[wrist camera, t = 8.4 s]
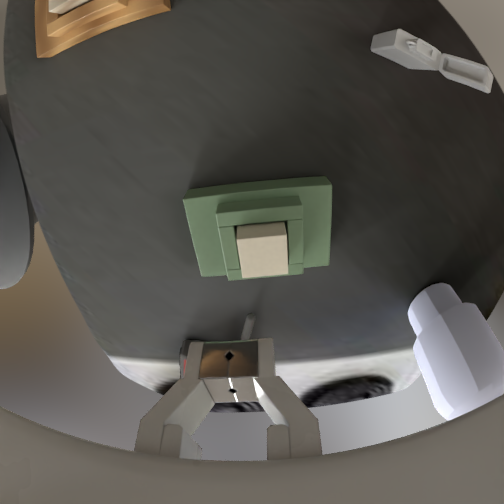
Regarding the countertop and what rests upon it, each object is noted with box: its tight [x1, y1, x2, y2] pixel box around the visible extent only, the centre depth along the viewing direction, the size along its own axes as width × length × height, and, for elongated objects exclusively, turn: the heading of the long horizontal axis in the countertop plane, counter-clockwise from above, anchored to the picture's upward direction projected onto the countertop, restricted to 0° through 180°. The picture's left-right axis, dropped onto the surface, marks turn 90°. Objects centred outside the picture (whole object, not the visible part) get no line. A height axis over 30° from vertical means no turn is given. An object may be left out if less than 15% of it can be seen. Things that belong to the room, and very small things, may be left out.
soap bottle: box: [408, 283, 504, 421], centre depth 23 cm, size 10×10×24 cm
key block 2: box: [183, 176, 332, 281], centre depth 24 cm, size 12×8×4 cm, turn 96°
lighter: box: [371, 29, 493, 93], centre depth 14 cm, size 7×2×8 cm, turn 79°
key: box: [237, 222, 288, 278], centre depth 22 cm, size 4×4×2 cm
